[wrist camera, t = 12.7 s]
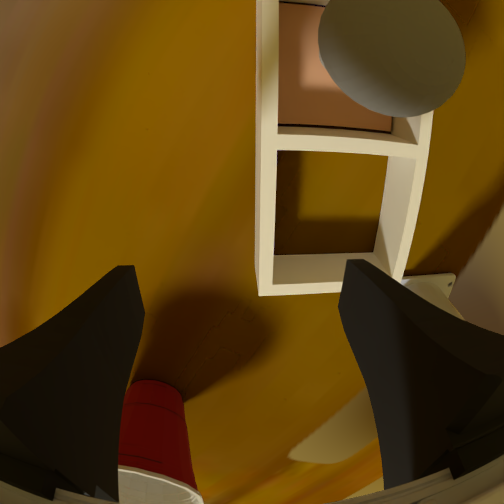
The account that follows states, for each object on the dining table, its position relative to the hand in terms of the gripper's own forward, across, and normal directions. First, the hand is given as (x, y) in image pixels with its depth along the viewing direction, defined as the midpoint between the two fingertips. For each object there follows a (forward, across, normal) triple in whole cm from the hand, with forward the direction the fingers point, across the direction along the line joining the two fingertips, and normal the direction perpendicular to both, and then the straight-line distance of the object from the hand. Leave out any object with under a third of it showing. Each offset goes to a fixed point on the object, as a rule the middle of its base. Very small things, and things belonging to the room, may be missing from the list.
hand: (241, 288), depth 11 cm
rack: (+10, -6, -8) cm, 14 cm away
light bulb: (+10, -6, -9) cm, 15 cm away
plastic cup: (+11, +9, +21) cm, 25 cm away
